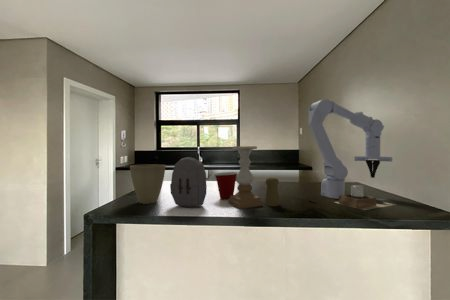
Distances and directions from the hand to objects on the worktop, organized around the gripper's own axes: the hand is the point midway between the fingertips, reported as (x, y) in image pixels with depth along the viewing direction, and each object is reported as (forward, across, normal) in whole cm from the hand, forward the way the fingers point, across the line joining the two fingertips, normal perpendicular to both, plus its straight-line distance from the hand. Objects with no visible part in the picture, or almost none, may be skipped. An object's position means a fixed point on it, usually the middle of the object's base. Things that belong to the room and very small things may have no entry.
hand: (372, 177), depth 116 cm
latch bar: (+8, -1, -13) cm, 15 cm away
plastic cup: (+10, -60, -26) cm, 66 cm away
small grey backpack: (+10, -67, -46) cm, 82 cm away
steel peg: (+8, -6, -21) cm, 23 cm away
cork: (+10, -38, -28) cm, 48 cm away
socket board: (+9, -4, -17) cm, 20 cm away
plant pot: (+10, -88, -46) cm, 99 cm away
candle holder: (+10, -48, -33) cm, 59 cm away
